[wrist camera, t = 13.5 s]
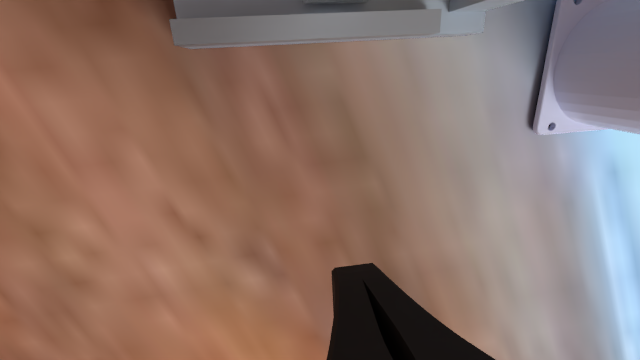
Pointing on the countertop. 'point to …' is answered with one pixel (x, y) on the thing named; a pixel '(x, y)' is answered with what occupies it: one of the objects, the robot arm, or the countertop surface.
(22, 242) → the countertop surface
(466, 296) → the countertop surface
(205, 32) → the base
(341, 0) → the sliding jaw
